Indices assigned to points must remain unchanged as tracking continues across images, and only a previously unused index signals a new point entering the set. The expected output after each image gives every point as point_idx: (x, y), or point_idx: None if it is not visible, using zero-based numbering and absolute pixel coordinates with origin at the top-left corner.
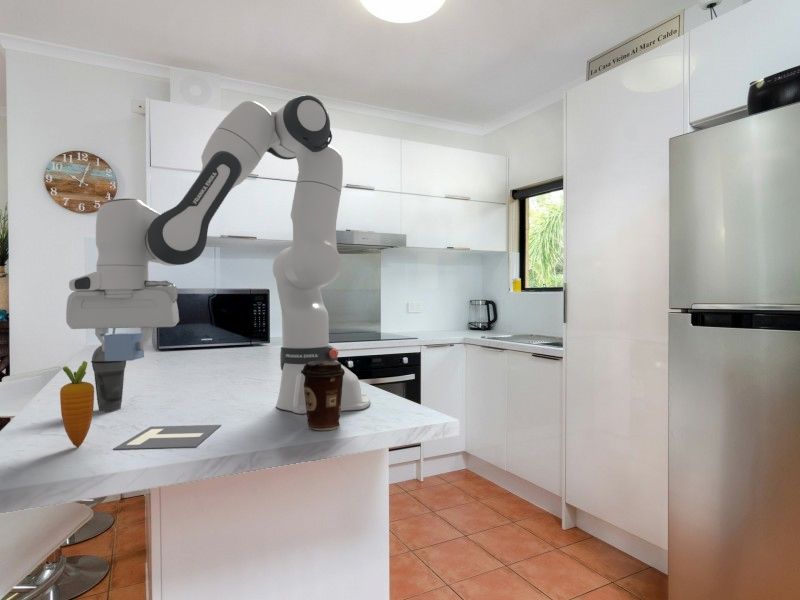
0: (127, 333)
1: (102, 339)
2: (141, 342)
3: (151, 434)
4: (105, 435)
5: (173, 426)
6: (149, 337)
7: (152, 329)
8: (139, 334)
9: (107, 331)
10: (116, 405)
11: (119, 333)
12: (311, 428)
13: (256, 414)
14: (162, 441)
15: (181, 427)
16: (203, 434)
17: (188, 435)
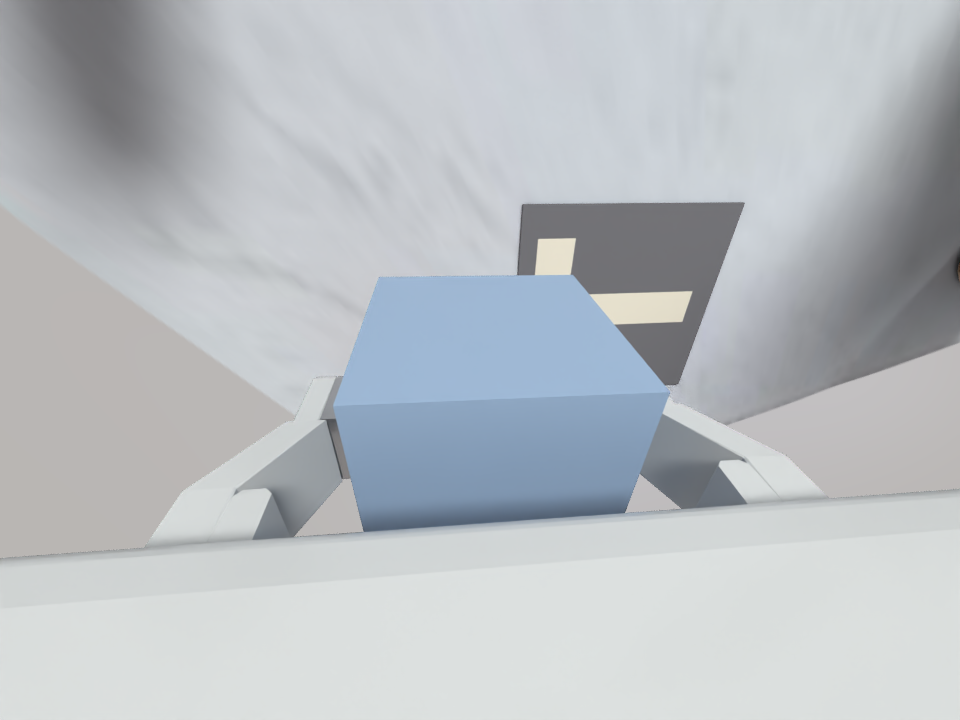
0: (501, 459)
1: (316, 509)
2: None
3: None
4: None
5: (598, 212)
6: (715, 429)
7: (808, 490)
8: (637, 459)
9: (269, 521)
10: None
11: (385, 443)
12: (958, 273)
13: (899, 21)
14: None
15: (625, 226)
16: (691, 302)
17: (655, 309)
